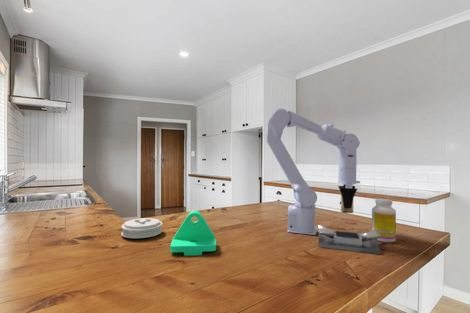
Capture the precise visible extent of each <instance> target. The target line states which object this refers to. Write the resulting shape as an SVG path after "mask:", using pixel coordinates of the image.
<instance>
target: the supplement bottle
mask: <svg viewBox="0 0 470 313" xmlns="http://www.w3.org/2000/svg"><path fill="white" fill-rule="evenodd" d="M374 200H375V205H374V206H373V207H372V208H371V231H373V230H377V231H378V233H379V235H380V238H379V239H377V240H378V242H382V243H383V242H384V243H393V242H396V239H397V238H396V237H397V219H396V218H397V211H396V209H395V208H393V207H392V205H393V200H392V199H389V198H375V199H374Z"/></svg>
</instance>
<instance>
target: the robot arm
mask: <svg viewBox="0 0 470 313" xmlns="http://www.w3.org/2000/svg"><path fill="white" fill-rule="evenodd" d="M266 127H267V128H266V138H265V140H266V143H267V145H268V146H269V149H270V150H271V151H272V153H273V155H274V157H275V159H276V161H277V163H278V165H279V166H280V168H281V169H282V171H283V172H284V174H285V176H286V178H287V180H288V182H289V183H290V185H291V189H292V190H293V198H294V199H295V200H296V201H295V202H294V204H291V205H290V204H289V205H288V209H287V233H294V234H300V235H301V234H302V235H313V236H316V235H317V232H316V231H317V228H318V227H316V203H317V201H318V195H317V193H316V191H315V190H314V189H312V188H311V187H310V186H309V184H308V183H307V181H306V180H305V178H303V176H302V173H301V172H300V170H299V169H298V167H297V165H296V164H295V161H294V159H293V158H292V156H291V155H290V153H289V151H288V150H287V147H286V146H285V144H284V142H283V141H282V135H283V132H284V130H285V128H293V127H297V128H300V129H302V130H305V131H308V132H310V133H313V134H316V136H317V138H318V139H319V140H321V141H323V142H326V143H327V144H330V145H332V146H335V147H336V148H337V149H338V177H337V178H338V180H337V183H338V184H342V185H338V189H339V191H340V195H341V194H342V199H343V205H344V208H349V209H351V207H352V202H353V203H354V197H355V195H356V193H357V191H358V188H356V186H355V185H356V184H361V181H360V180H357V157H358V155H357V150H358V148H359V146H360V143H361V141H360V140H359V138H358V136H357V135H356V134H354V133H351V132H350V133H347V131H346V130H344V129H343V130H341V129H339V128H336V127H335V126H334V124H332V123H330V124H327V123H326V124H323V125H320V124H318V123H317V122H314V121H312V120H310V119H307V118H306V117H304V116H301V115H299V114H298V113H295V112H294V111H290V110H288V111H287V110H286V109H284V108H277V109H275V110H273V112H272V114H271V115H270V117H269V120H268V122H267V126H266Z"/></svg>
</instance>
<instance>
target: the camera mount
mask: <svg viewBox="0 0 470 313" xmlns="http://www.w3.org/2000/svg"><path fill="white" fill-rule="evenodd" d="M192 218H196V219H197V221H196V220H195V221H194V220H192ZM216 239H217V238H216V235H215V233H214V232H213V230H212V229H211V228H210V225H209V224H208V222H207V220H206V219H205V217H204V216H203V215H202V213H201V212H200V211H198V210H191V211H190V212H189V213H188V214H187V216H186V217H185V219H184V221H182V224H181V225H180V227H179V229H178V230H177V232H176V233H175V234H174V236H173V238H172V241H171V242H170V245H169V246H170V247H169V248H170V250H169V251H170V253H183V256H203V252H215V251H216V250H217V241H216Z"/></svg>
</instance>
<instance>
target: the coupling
mask: <svg viewBox="0 0 470 313" xmlns="http://www.w3.org/2000/svg"><path fill="white" fill-rule="evenodd" d="M340 213H344V214H353V213H354V201H353V202H352V207H351V209H349V208H344V205H343V199H342V194H341V193H340Z"/></svg>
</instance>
